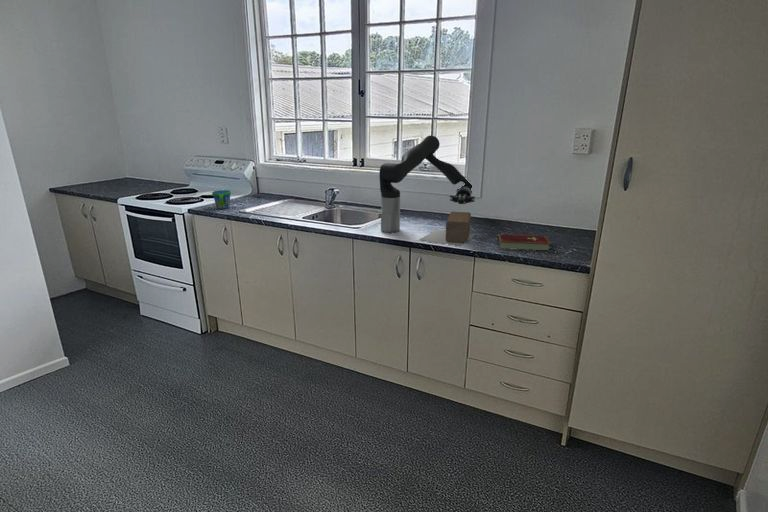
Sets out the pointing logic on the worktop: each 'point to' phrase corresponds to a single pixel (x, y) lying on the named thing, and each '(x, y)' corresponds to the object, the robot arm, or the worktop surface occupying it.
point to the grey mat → (441, 237)
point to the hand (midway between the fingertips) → (460, 202)
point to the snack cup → (222, 198)
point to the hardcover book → (523, 242)
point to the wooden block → (458, 227)
